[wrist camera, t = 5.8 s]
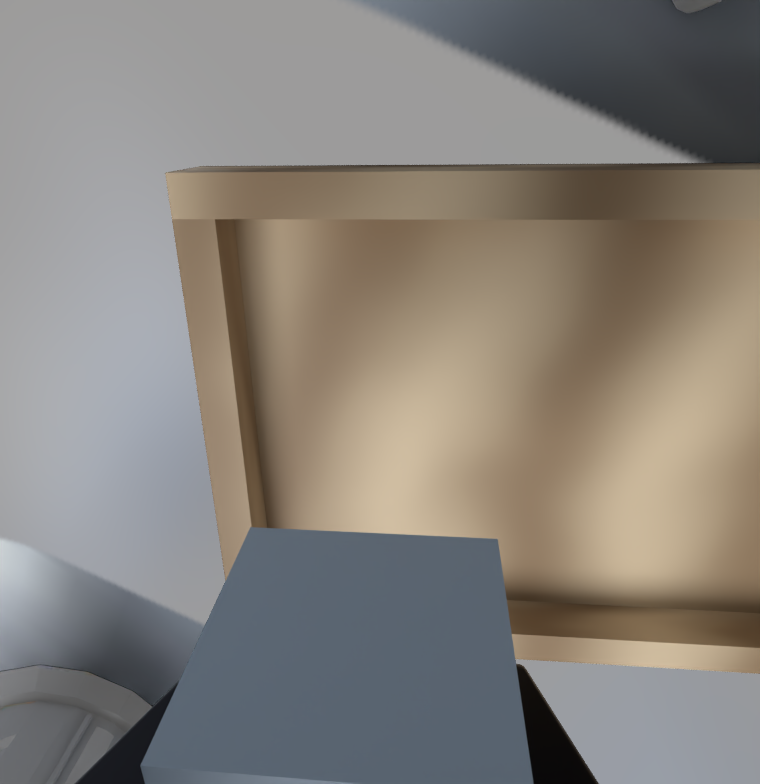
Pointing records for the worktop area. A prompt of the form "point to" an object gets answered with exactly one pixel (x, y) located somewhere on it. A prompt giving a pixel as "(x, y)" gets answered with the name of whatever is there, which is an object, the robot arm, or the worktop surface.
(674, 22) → the worktop surface
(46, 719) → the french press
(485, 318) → the tray
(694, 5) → the container
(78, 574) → the worktop surface
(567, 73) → the worktop surface
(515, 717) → the block
